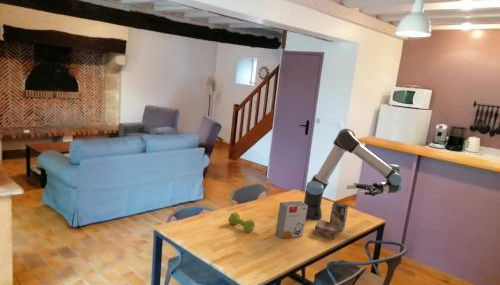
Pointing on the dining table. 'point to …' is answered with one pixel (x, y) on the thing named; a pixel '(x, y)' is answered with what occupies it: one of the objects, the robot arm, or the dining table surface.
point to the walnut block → (325, 229)
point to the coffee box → (339, 215)
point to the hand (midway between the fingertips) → (353, 190)
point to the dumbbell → (241, 222)
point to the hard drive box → (291, 219)
